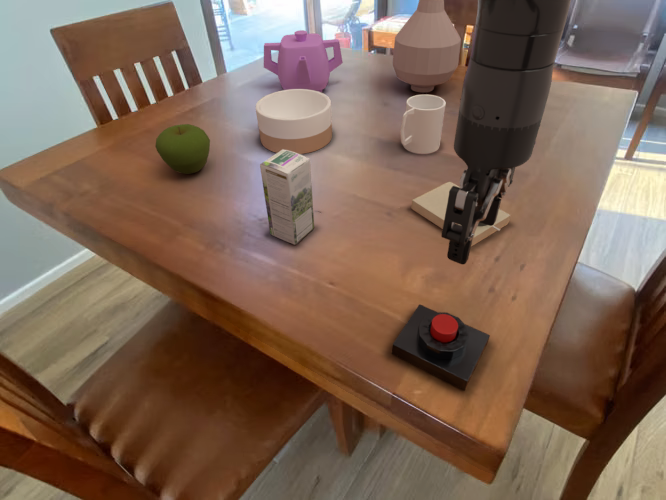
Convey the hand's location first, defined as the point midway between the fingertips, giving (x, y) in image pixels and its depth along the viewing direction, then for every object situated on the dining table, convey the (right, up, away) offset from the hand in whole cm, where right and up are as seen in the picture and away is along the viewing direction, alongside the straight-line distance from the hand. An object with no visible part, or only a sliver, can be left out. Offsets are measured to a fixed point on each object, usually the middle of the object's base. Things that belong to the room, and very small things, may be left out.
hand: (472, 240), depth 51 cm
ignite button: (-3, -12, +3) cm, 12 cm away
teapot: (-25, +47, +76) cm, 92 cm away
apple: (-47, +16, +42) cm, 66 cm away
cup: (+2, +22, +46) cm, 51 cm away
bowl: (-25, +26, +52) cm, 64 cm away
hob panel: (+6, +5, +27) cm, 28 cm away
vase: (+9, +45, +72) cm, 86 cm away
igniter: (-2, -14, +6) cm, 16 cm away
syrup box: (-24, +2, +25) cm, 35 cm away
